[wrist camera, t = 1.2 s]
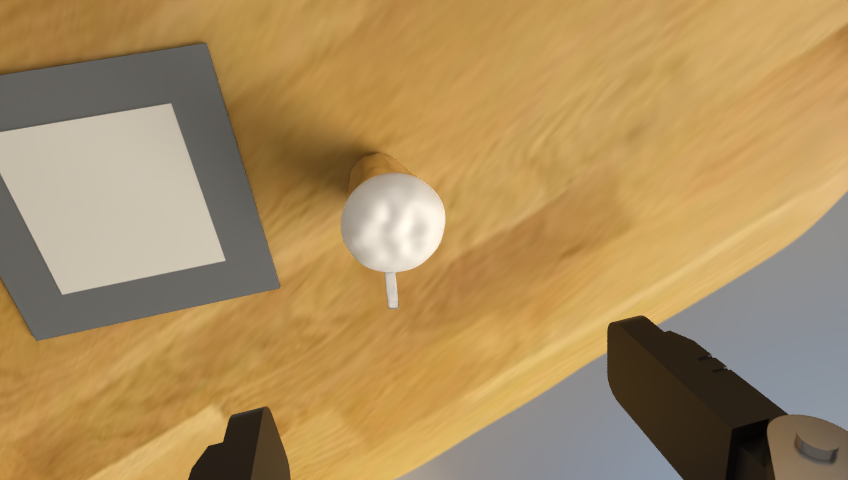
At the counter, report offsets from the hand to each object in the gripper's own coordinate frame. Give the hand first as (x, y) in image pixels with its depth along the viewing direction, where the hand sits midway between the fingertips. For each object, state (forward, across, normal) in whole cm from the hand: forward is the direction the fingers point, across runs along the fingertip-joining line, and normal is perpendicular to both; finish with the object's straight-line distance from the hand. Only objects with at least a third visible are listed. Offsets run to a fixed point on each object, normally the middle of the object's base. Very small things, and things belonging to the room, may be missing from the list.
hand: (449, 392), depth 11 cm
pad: (+19, +14, -2) cm, 23 cm away
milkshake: (+19, 0, 0) cm, 19 cm away
